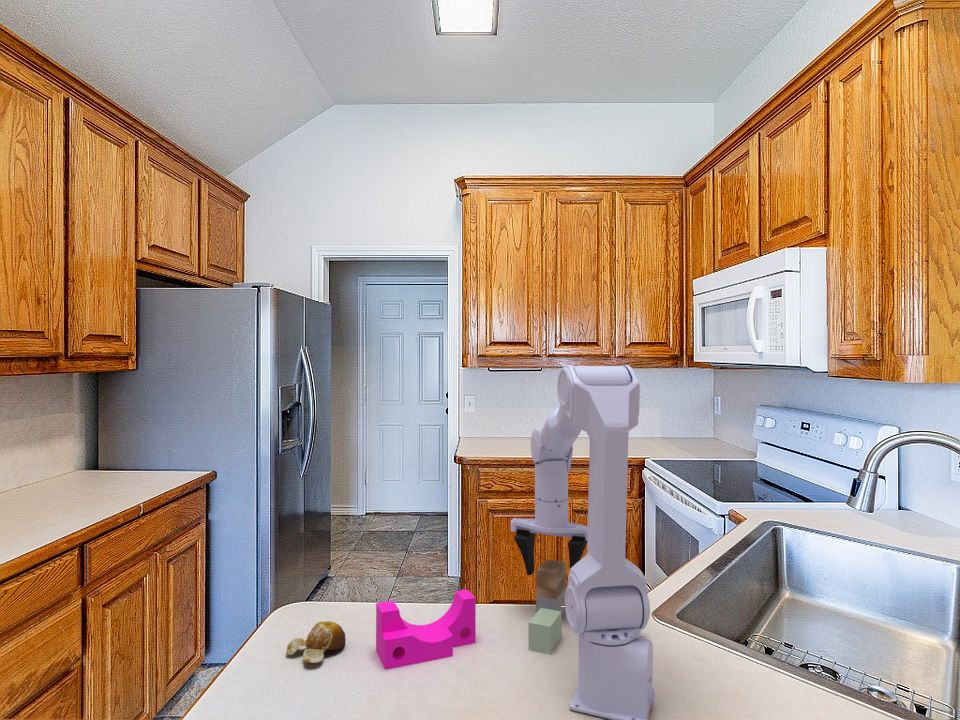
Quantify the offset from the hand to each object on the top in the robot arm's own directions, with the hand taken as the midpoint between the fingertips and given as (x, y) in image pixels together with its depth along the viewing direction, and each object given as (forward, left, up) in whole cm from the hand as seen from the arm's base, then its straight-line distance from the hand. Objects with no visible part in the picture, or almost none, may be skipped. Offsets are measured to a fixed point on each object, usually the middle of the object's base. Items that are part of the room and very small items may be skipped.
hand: (551, 576), depth 102 cm
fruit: (+29, +30, -8) cm, 42 cm away
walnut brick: (0, 0, -3) cm, 3 cm away
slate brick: (0, 0, -7) cm, 7 cm away
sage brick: (-2, +10, -7) cm, 12 cm away
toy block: (+14, +19, -8) cm, 25 cm away
